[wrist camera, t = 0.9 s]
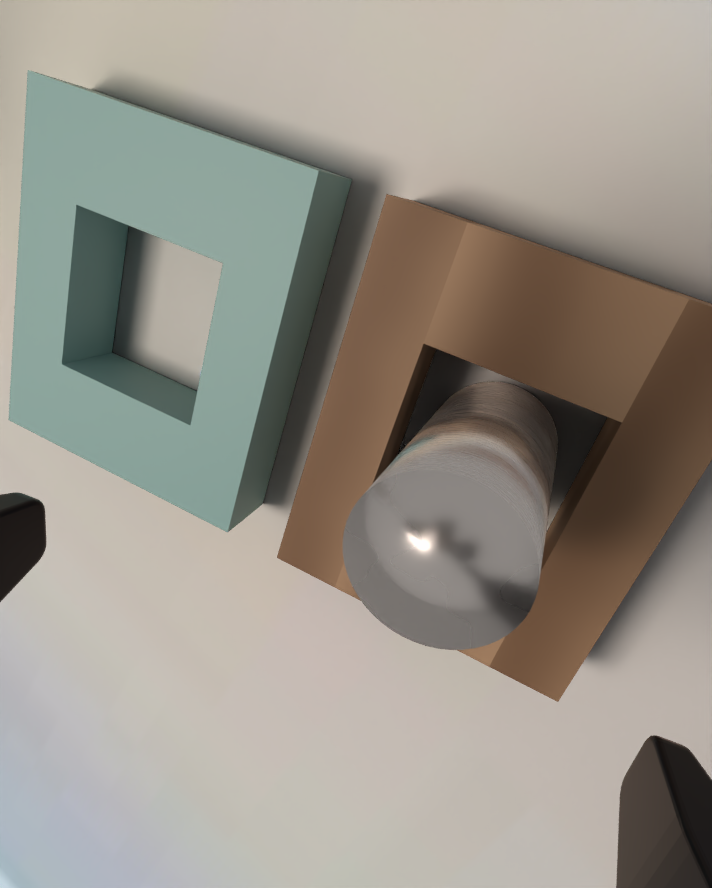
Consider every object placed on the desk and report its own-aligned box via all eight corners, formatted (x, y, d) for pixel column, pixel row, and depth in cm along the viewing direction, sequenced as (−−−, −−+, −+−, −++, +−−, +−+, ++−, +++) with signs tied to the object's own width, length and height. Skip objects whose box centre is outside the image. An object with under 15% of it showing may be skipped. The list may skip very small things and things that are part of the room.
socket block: (761, 320, 15) (791, 334, 13) (560, 651, 20) (557, 701, 18) (411, 200, 17) (386, 194, 15) (307, 526, 22) (276, 557, 20)
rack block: (352, 179, 18) (318, 170, 16) (262, 503, 23) (227, 532, 21) (89, 88, 20) (27, 70, 18) (60, 404, 25) (8, 419, 23)
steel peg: (580, 411, 18) (576, 526, 11) (525, 519, 19) (490, 681, 12) (456, 361, 18) (376, 437, 11) (414, 469, 20) (320, 594, 13)
